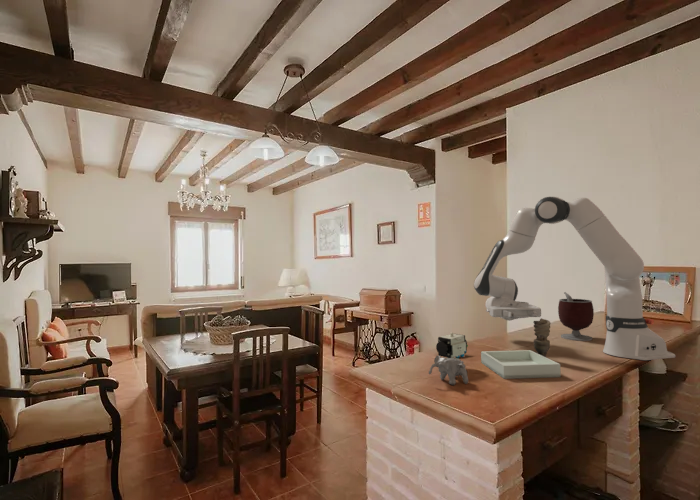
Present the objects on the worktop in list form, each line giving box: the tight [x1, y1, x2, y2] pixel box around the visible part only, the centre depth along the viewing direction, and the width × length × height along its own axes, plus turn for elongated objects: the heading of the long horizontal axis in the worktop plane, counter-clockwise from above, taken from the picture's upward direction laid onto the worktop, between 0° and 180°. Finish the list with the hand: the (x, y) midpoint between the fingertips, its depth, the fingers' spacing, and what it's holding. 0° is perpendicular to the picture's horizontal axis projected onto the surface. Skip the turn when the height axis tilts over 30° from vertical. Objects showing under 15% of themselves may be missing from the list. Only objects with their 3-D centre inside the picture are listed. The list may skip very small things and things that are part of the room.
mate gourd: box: [557, 291, 595, 342], centre depth 175 cm, size 16×14×20 cm
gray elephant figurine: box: [428, 355, 469, 386], centre depth 115 cm, size 9×12×8 cm
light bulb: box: [533, 317, 552, 358], centre depth 138 cm, size 6×6×15 cm
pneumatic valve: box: [435, 332, 468, 360], centre depth 130 cm, size 6×12×12 cm, turn 130°
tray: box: [480, 349, 562, 380], centre depth 128 cm, size 18×18×4 cm
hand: (523, 314), depth 151 cm, fingers open, 8 cm apart
